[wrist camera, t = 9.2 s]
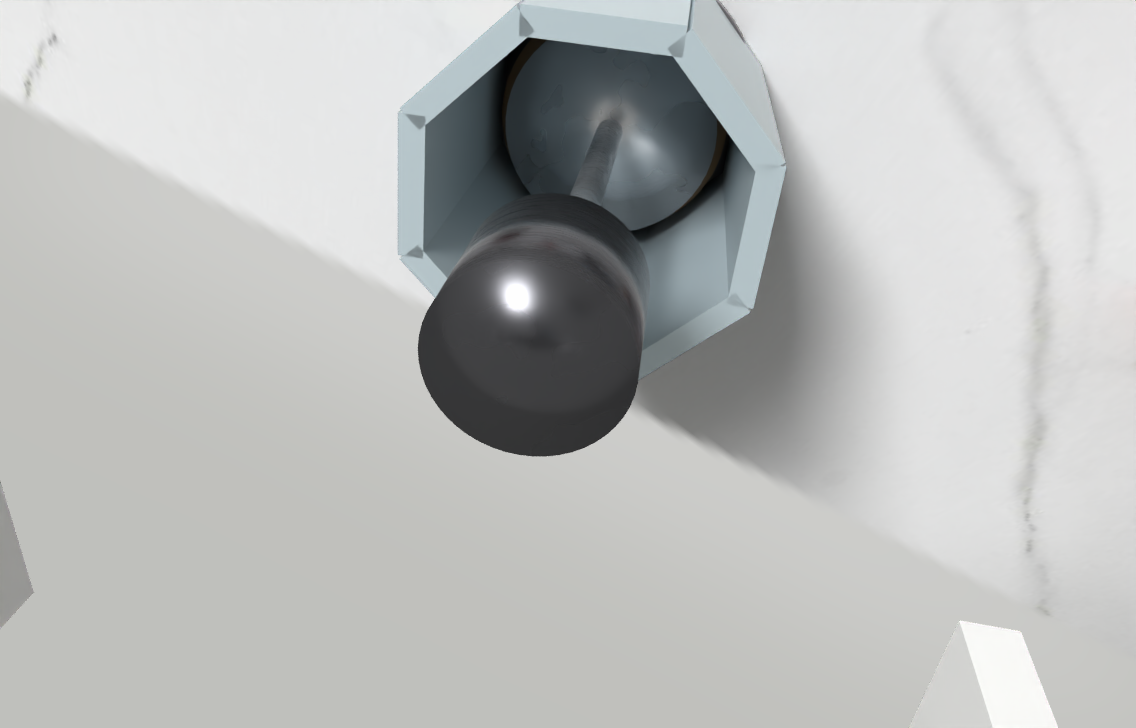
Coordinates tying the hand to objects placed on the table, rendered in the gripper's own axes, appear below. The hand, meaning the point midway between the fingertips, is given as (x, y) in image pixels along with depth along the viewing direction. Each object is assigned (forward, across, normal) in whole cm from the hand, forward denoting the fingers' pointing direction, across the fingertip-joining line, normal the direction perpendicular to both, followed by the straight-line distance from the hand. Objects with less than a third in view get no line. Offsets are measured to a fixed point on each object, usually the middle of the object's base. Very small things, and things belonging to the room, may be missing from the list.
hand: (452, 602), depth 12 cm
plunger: (+25, 0, 0) cm, 25 cm away
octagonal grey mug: (+29, 0, -2) cm, 29 cm away
